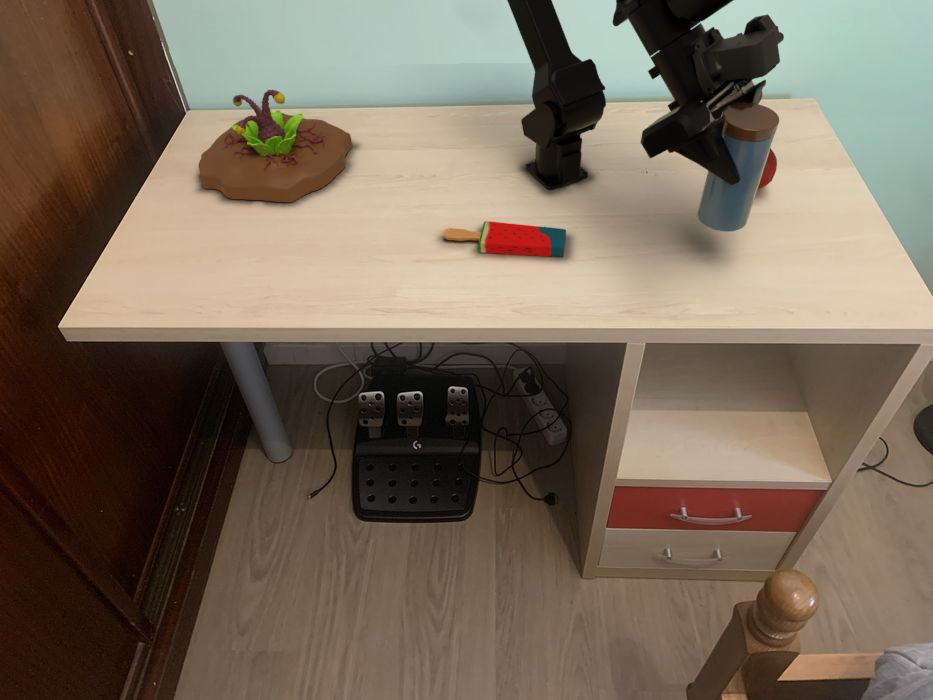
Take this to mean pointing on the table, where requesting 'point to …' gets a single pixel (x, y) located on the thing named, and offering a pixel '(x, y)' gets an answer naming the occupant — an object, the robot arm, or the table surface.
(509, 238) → the popsicle
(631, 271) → the table surface
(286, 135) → the plant
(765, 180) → the onion
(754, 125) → the spice jar
